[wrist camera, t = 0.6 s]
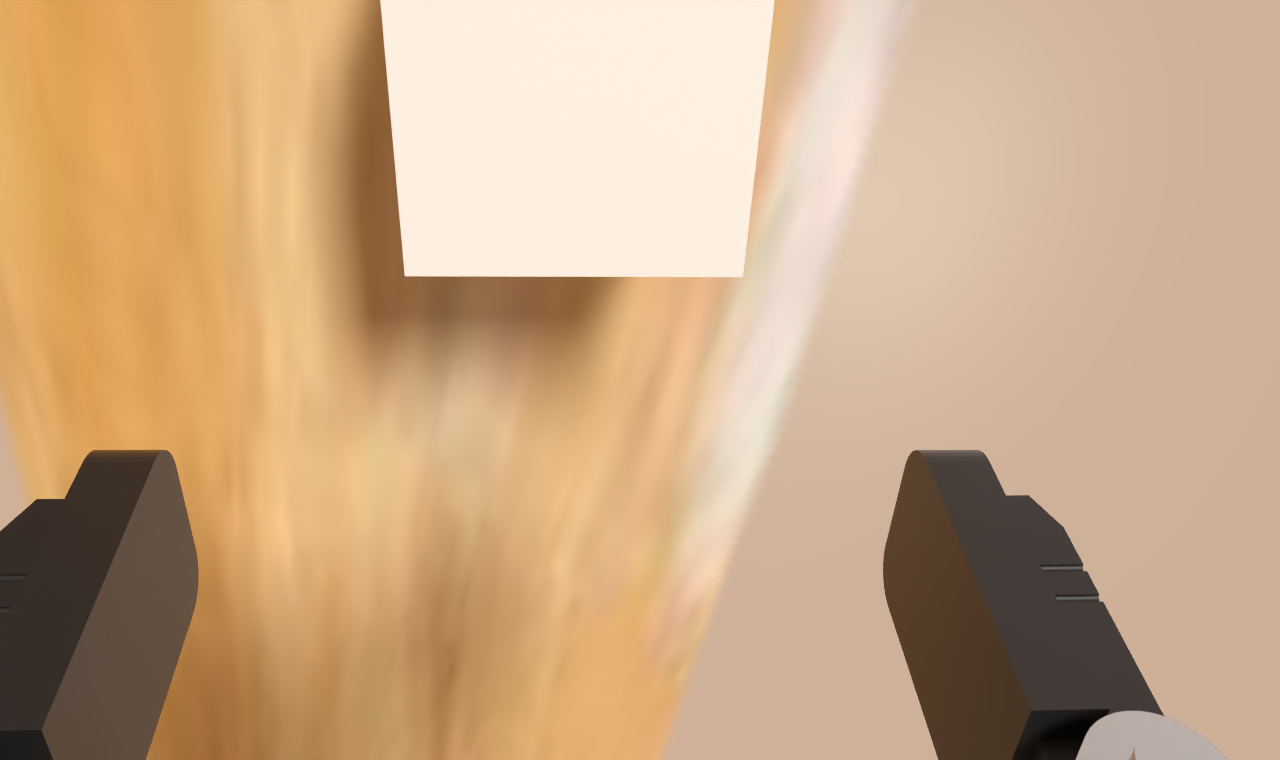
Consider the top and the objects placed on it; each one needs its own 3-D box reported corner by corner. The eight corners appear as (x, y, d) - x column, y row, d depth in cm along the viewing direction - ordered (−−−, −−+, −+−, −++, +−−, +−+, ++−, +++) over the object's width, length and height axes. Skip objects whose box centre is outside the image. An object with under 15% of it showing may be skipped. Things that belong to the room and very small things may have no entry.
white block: (418, -187, 26) (373, -79, 19) (717, -177, 26) (782, -69, 19) (436, 99, 30) (404, 276, 23) (695, 103, 31) (742, 277, 23)
